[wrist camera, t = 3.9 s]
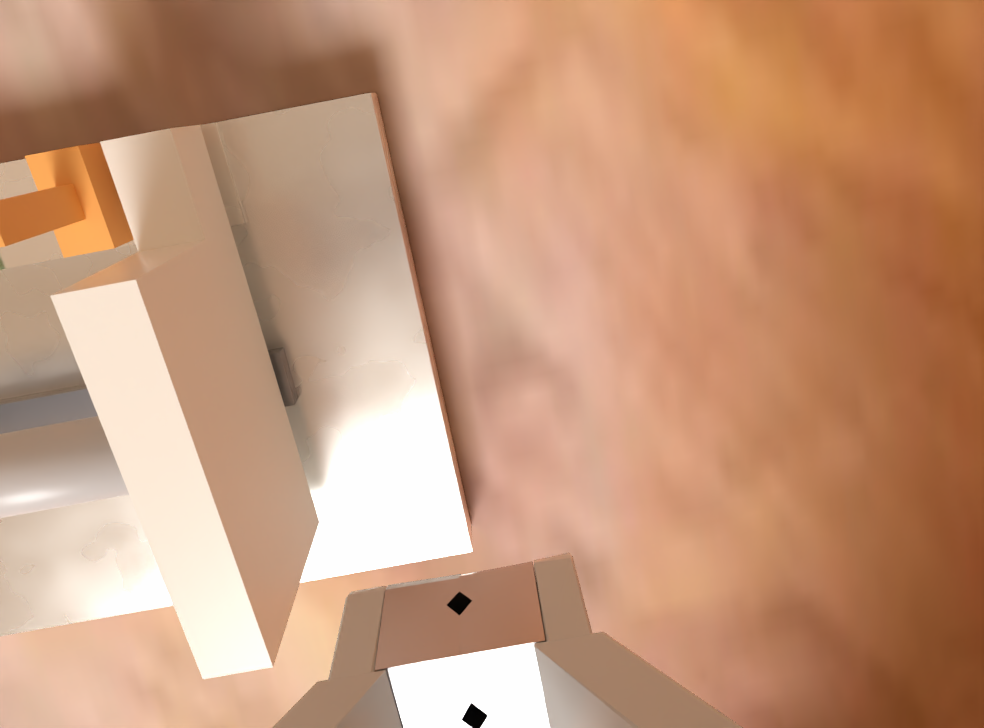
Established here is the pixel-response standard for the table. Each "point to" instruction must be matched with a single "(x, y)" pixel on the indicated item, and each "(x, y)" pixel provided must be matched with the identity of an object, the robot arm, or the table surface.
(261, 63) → the table surface
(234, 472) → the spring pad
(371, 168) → the gauge base
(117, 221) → the orange t-shaped block
